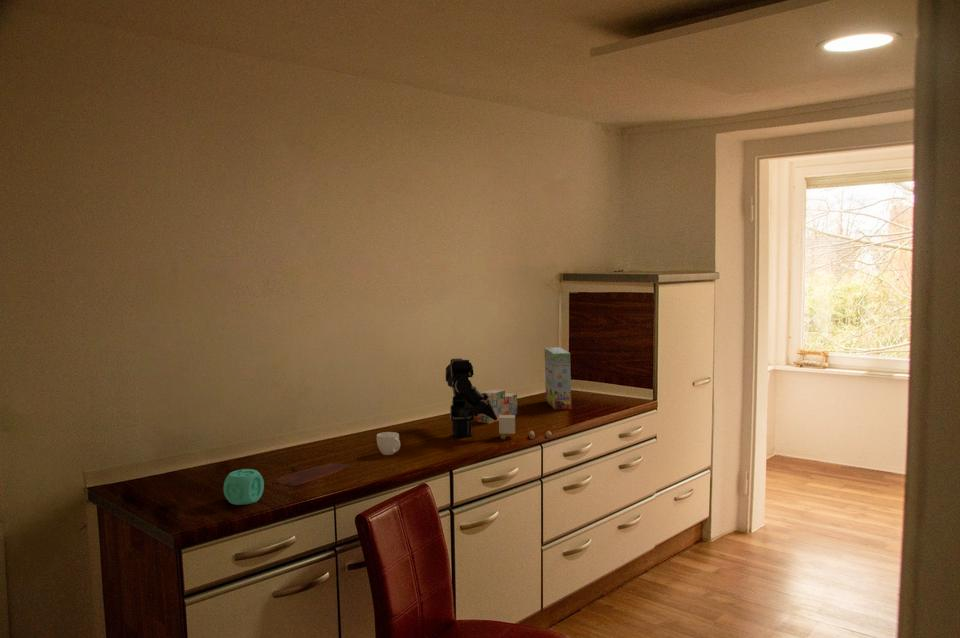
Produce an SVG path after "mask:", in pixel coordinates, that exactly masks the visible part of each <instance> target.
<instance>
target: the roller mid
mask: <svg viewBox="0 0 960 638" xmlns="http://www.w3.org/2000/svg"><path fill="white" fill-rule="evenodd" d="M528 436H529V439H530V440H534V439H535V438H536V435H535V432H534V431H533V430H530V431H529V432H528Z"/></svg>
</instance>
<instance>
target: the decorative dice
mask: <svg viewBox="0 0 960 638" xmlns="http://www.w3.org/2000/svg"><path fill="white" fill-rule="evenodd" d="M264 488H265V480H264V478H263V475H261V473H260V472H259V471H258V470H256V469H252V468H242V469H237V470H234V471H231V472H229V473H228V475H227V476H226V477H225V480H224V483H223V494H224V497H225V499H226V500H227V501H228V502H229V503H230V504H231V505H235V506H244V505H250V504H254V503H256V502H258V501H259V500H260V499H261V497H262V495H263V493H264Z"/></svg>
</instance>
